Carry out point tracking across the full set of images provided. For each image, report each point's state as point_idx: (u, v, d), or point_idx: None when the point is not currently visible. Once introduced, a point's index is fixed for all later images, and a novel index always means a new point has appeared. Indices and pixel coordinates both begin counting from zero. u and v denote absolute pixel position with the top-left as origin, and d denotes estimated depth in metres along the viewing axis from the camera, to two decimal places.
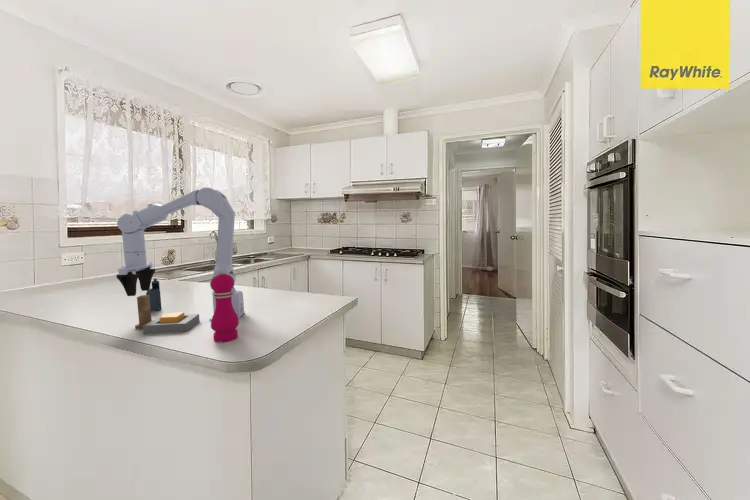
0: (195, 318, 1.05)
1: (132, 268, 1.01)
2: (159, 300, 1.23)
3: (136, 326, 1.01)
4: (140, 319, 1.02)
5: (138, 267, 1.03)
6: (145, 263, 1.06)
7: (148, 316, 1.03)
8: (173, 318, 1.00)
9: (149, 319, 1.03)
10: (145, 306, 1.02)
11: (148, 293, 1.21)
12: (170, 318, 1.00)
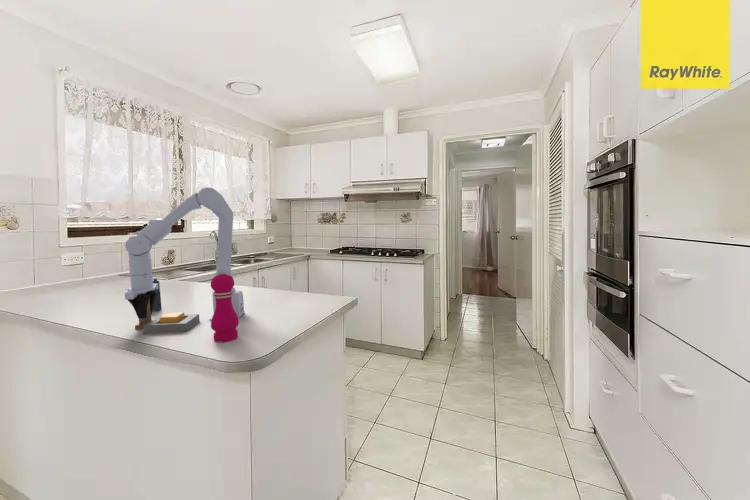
0: (195, 318, 1.05)
1: (139, 292, 0.98)
2: (159, 300, 1.23)
3: (136, 326, 1.01)
4: (140, 319, 1.02)
5: (145, 290, 1.00)
6: (152, 285, 1.02)
7: (148, 316, 1.03)
8: (173, 318, 1.00)
9: (149, 319, 1.03)
10: None
11: None
12: (170, 318, 1.00)
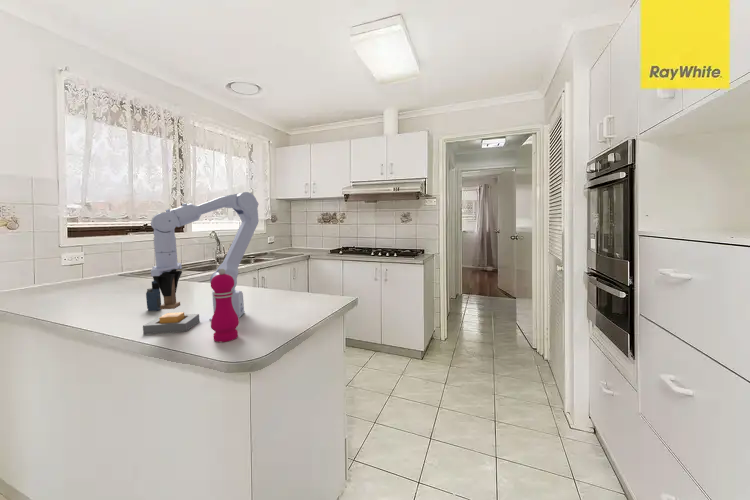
0: (195, 318, 1.05)
1: (164, 269, 0.96)
2: (159, 300, 1.23)
3: (161, 306, 1.00)
4: (165, 299, 1.00)
5: (170, 268, 0.98)
6: (176, 264, 1.01)
7: (173, 296, 1.02)
8: (173, 318, 1.00)
9: (174, 299, 1.02)
10: None
11: (148, 293, 1.21)
12: (170, 318, 1.00)
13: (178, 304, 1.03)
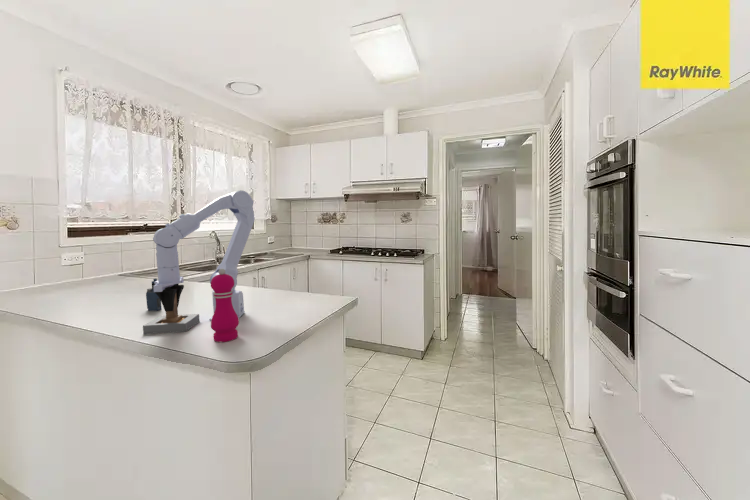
0: (195, 318, 1.05)
1: (167, 284, 0.97)
2: (159, 300, 1.23)
3: (163, 320, 1.00)
4: (167, 313, 1.01)
5: (172, 283, 0.99)
6: (179, 278, 1.01)
7: (175, 310, 1.02)
8: None
9: (176, 313, 1.02)
10: None
11: (148, 293, 1.21)
12: None
13: (180, 318, 1.03)
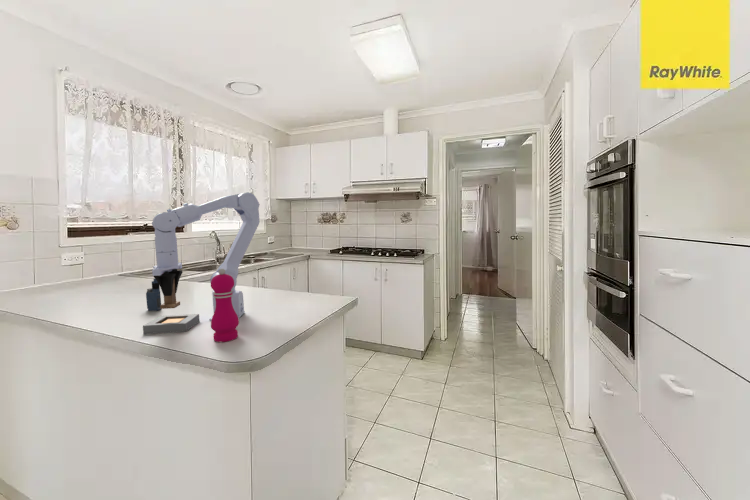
0: (195, 318, 1.05)
1: (165, 268, 0.97)
2: (159, 300, 1.23)
3: (161, 305, 1.00)
4: (165, 299, 1.01)
5: (171, 267, 0.99)
6: (177, 263, 1.02)
7: (173, 296, 1.02)
8: None
9: (174, 299, 1.02)
10: None
11: (148, 293, 1.21)
12: None
13: (178, 304, 1.03)
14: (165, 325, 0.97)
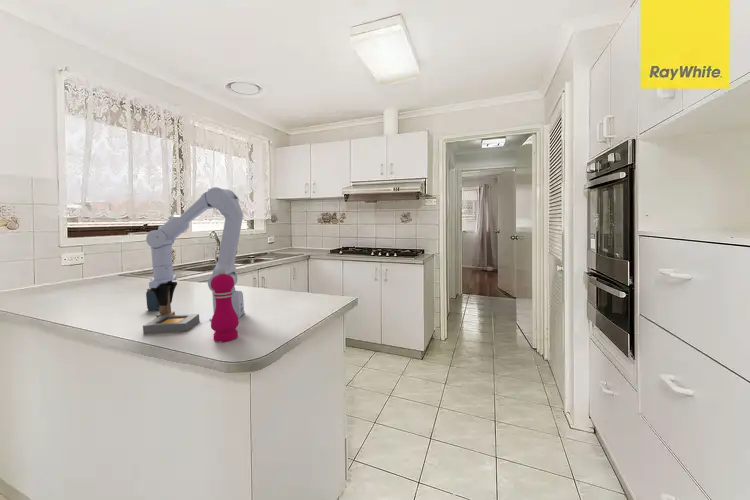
0: (195, 318, 1.05)
1: (161, 281, 1.07)
2: None
3: (157, 316, 1.10)
4: (161, 309, 1.11)
5: (166, 280, 1.09)
6: (172, 276, 1.11)
7: (168, 307, 1.12)
8: None
9: (169, 309, 1.12)
10: None
11: (148, 293, 1.21)
12: None
13: (173, 314, 1.13)
14: (165, 325, 0.97)
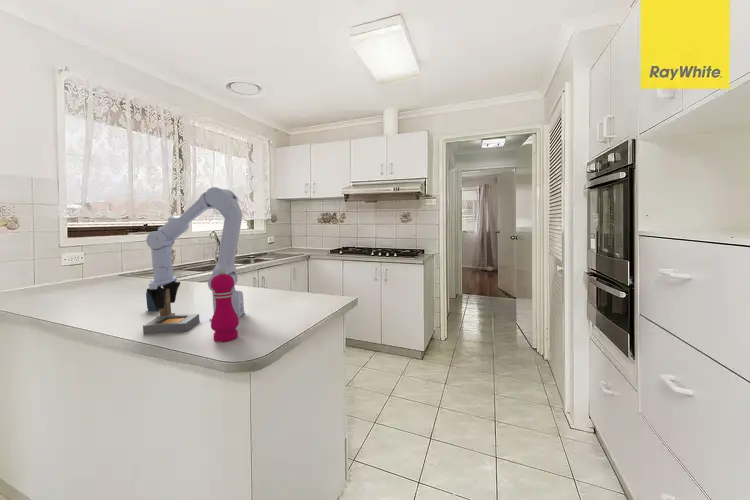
0: (195, 318, 1.05)
1: (161, 282, 1.07)
2: None
3: None
4: (161, 311, 1.11)
5: (166, 281, 1.09)
6: (172, 277, 1.12)
7: (168, 308, 1.12)
8: None
9: (169, 311, 1.12)
10: (166, 299, 1.11)
11: None
12: None
13: None
14: (165, 325, 0.97)
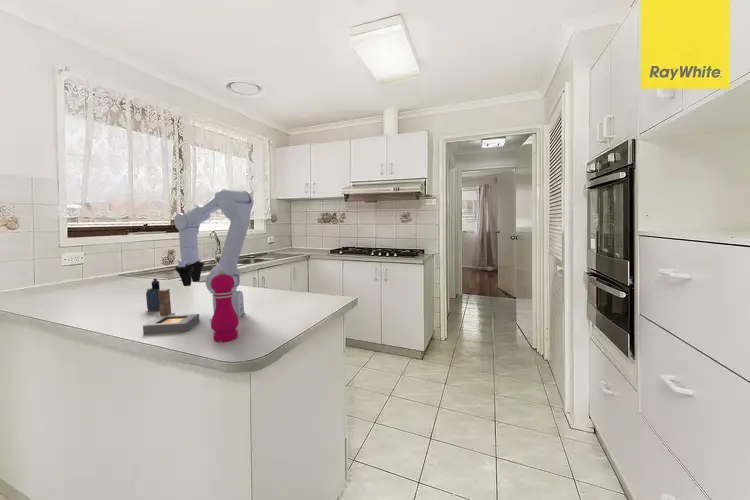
0: (195, 318, 1.05)
1: (188, 261, 1.14)
2: None
3: None
4: (161, 311, 1.11)
5: (193, 260, 1.16)
6: (198, 257, 1.19)
7: (168, 308, 1.12)
8: None
9: (169, 311, 1.12)
10: (166, 299, 1.11)
11: (148, 293, 1.21)
12: None
13: None
14: (165, 325, 0.97)
